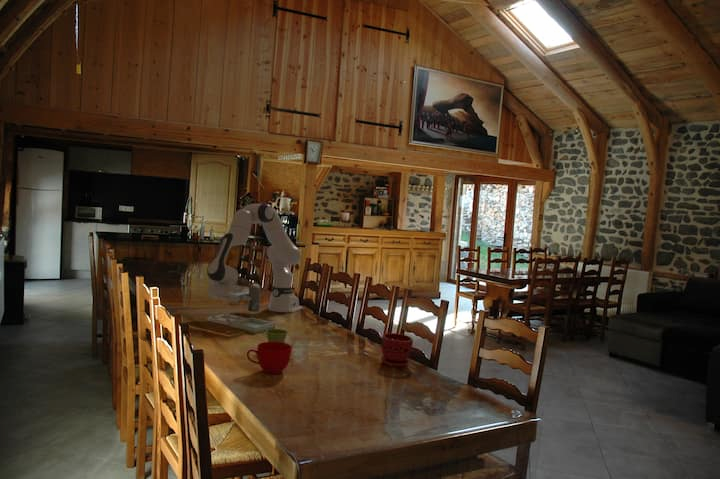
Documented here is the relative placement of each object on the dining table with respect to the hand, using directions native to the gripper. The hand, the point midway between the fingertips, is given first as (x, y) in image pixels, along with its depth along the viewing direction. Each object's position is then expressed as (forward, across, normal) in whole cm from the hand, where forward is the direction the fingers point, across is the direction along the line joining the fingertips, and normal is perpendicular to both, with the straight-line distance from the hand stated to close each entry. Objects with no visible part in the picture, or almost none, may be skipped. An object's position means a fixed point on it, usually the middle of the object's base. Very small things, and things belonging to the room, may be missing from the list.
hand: (255, 297), depth 274 cm
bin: (-1, 0, +16) cm, 16 cm away
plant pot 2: (+81, -6, +16) cm, 83 cm away
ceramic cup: (+47, -50, +16) cm, 71 cm away
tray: (-18, 0, +16) cm, 24 cm away
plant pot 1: (+32, -25, +16) cm, 44 cm away
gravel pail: (-1, 0, +7) cm, 7 cm away
